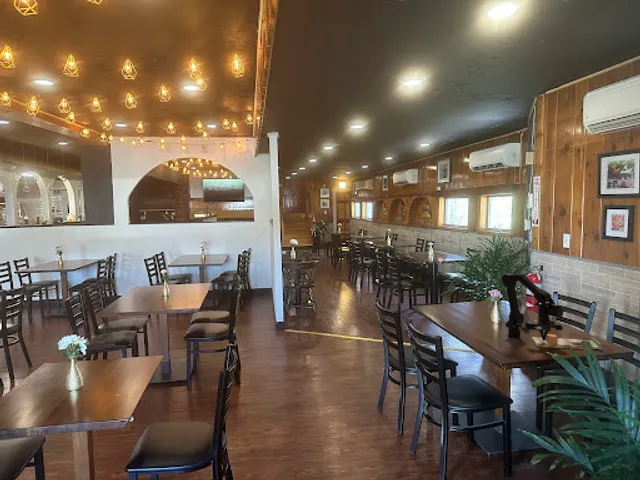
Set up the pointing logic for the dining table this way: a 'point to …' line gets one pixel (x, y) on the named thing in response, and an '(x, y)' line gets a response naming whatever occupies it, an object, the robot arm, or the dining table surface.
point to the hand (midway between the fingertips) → (543, 340)
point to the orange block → (551, 339)
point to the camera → (526, 316)
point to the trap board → (565, 343)
